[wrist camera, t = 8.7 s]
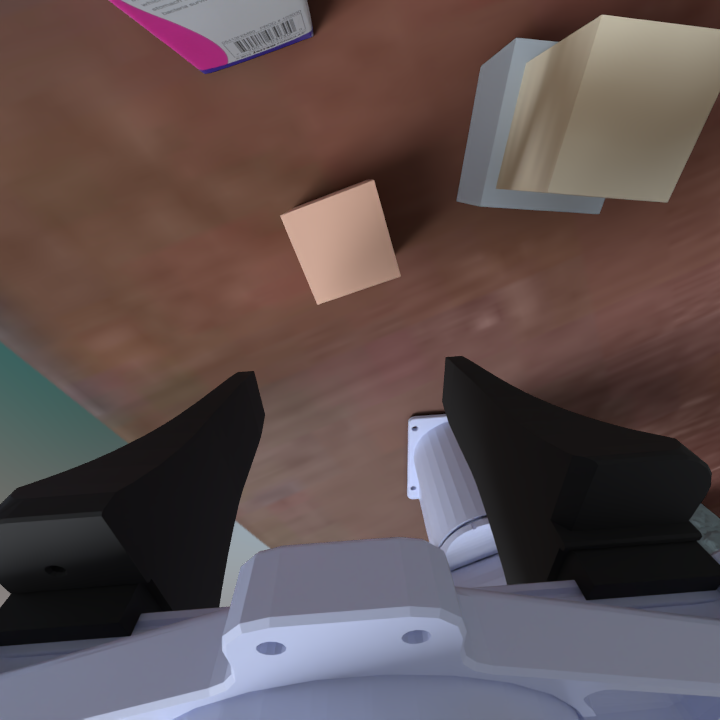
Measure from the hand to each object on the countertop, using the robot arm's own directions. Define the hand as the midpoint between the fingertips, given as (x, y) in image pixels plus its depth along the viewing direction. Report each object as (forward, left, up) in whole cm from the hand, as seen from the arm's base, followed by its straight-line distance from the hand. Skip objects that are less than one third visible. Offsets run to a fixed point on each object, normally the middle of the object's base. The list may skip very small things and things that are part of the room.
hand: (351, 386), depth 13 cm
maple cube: (+8, -10, -7) cm, 14 cm away
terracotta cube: (+4, 0, -10) cm, 11 cm away
